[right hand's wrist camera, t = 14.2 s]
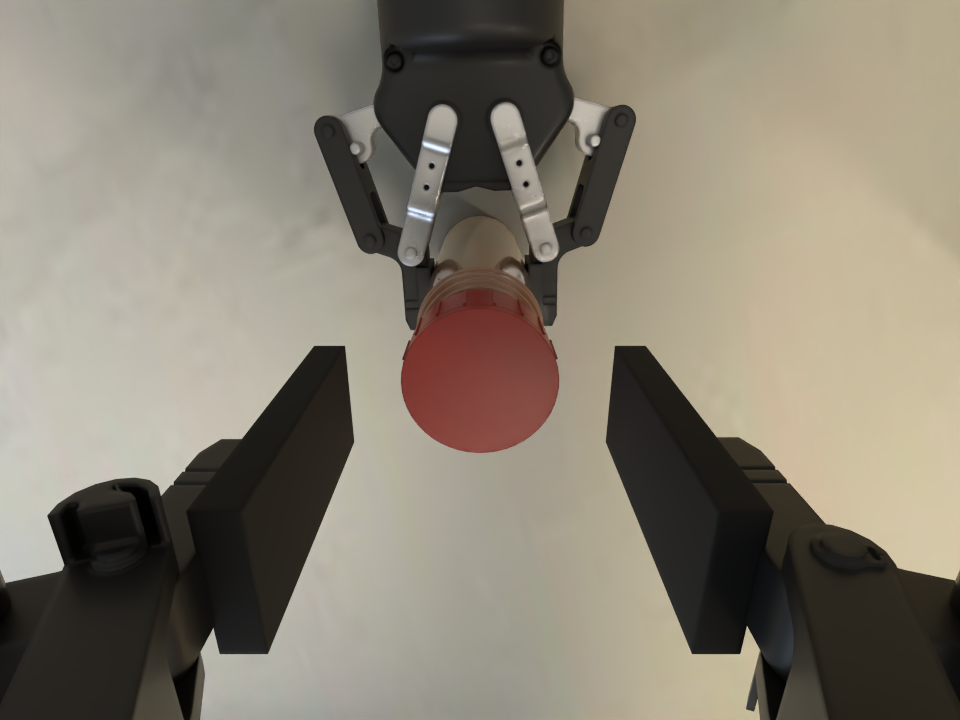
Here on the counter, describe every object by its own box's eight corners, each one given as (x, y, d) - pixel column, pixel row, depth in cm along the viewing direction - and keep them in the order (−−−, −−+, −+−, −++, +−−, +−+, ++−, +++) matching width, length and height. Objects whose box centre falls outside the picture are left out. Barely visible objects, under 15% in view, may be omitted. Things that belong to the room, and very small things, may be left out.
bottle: (446, 296, 34) (412, 454, 17) (436, 219, 32) (388, 309, 15) (521, 289, 34) (563, 441, 17) (515, 212, 32) (555, 293, 15)
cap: (418, 428, 18) (410, 461, 17) (397, 295, 17) (386, 314, 15) (555, 416, 18) (563, 448, 16) (547, 280, 17) (556, 298, 15)
